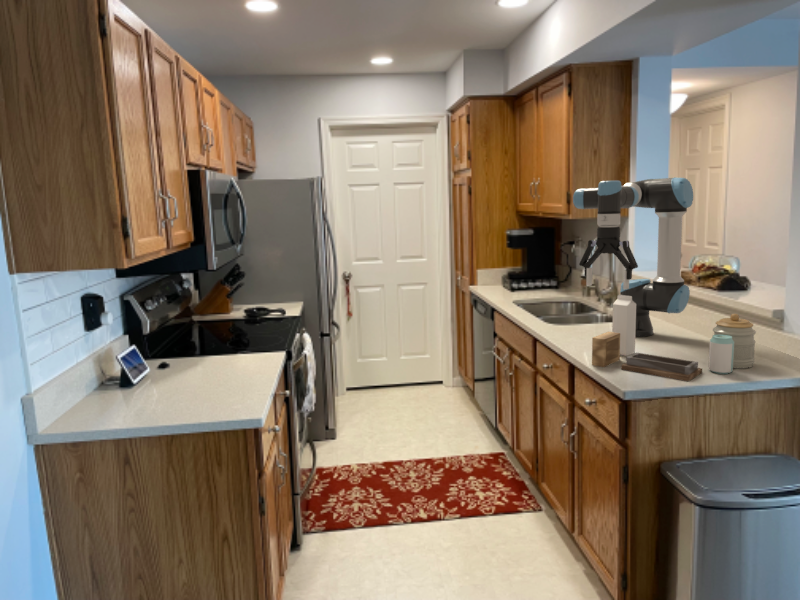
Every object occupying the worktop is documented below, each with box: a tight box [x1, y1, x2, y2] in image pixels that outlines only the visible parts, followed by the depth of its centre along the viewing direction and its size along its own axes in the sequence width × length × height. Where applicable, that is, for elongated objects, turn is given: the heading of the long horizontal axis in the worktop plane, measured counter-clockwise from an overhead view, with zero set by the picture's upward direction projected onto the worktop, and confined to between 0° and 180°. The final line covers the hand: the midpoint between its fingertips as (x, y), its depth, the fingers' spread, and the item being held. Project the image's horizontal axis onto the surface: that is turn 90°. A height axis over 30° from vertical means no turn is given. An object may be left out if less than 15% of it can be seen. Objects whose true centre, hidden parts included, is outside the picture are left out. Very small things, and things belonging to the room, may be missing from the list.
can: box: [708, 334, 734, 375], centre depth 195 cm, size 7×7×12 cm
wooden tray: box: [620, 352, 703, 382], centre depth 199 cm, size 12×22×4 cm, turn 45°
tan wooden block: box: [591, 331, 621, 368], centre depth 211 cm, size 5×12×10 cm, turn 135°
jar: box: [712, 313, 757, 369], centre depth 203 cm, size 13×13×18 cm
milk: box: [611, 294, 636, 357], centre depth 222 cm, size 6×6×22 cm
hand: (607, 287), depth 207 cm, fingers open, 13 cm apart
